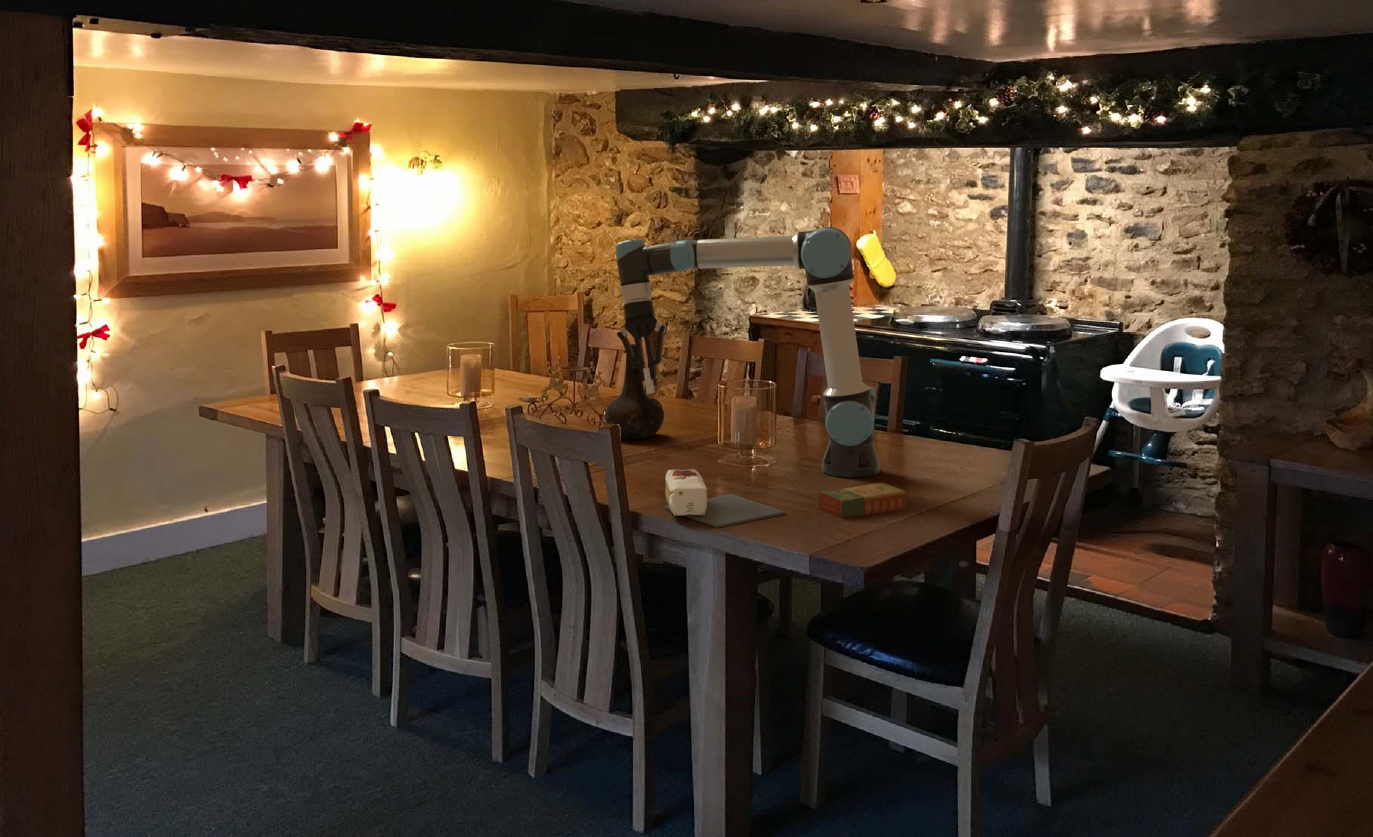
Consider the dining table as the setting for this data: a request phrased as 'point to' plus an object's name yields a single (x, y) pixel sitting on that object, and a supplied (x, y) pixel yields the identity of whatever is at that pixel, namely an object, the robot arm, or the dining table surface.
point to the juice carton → (685, 492)
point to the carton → (861, 500)
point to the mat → (733, 511)
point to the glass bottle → (635, 407)
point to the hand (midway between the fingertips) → (650, 393)
